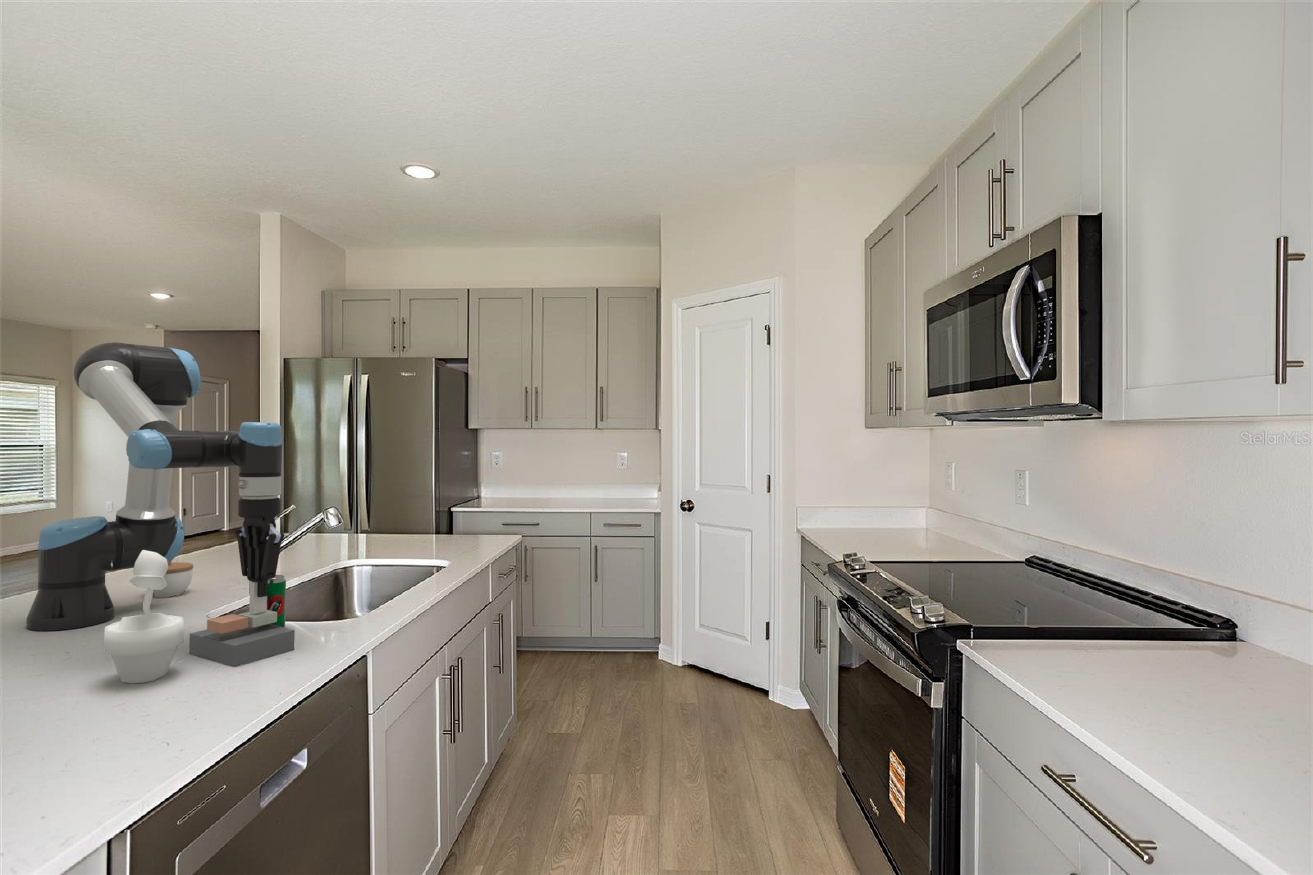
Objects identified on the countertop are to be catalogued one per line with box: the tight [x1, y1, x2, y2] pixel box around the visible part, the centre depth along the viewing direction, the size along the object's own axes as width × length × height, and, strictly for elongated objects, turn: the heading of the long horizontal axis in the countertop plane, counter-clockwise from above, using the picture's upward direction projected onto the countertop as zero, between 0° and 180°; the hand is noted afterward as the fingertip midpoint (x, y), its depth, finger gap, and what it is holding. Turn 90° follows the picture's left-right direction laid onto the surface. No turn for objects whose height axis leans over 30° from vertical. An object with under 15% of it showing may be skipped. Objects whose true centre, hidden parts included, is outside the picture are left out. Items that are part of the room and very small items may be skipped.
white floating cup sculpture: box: [103, 549, 185, 685], centre depth 120 cm, size 13×12×25 cm
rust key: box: [206, 613, 248, 634], centre depth 133 cm, size 5×5×2 cm
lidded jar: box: [152, 561, 194, 598], centre depth 181 cm, size 11×11×9 cm
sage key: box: [237, 610, 277, 628], centre depth 138 cm, size 5×5×2 cm
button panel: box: [188, 624, 296, 668], centre depth 136 cm, size 15×12×4 cm
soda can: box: [267, 574, 287, 628], centre depth 150 cm, size 5×5×12 cm
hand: (258, 612), depth 138 cm, fingers closed
